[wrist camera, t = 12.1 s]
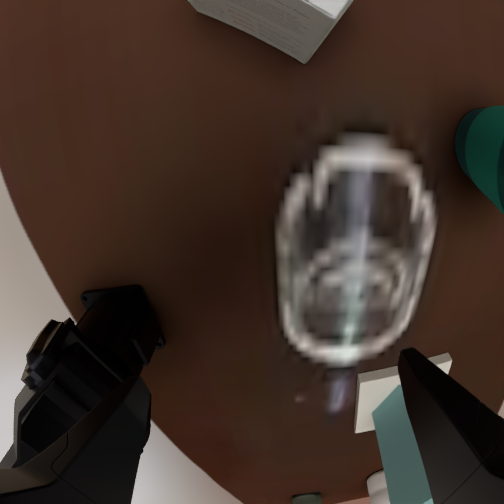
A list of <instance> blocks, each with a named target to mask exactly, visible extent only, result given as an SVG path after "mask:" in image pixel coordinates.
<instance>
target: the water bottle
mask: <svg viewBox="0 0 504 504" xmlns="http://www.w3.org/2000/svg"><path fill="white" fill-rule="evenodd" d="M367 487H368V492H369V495H370V504H390V501H389V495H388V489H387V484H386V479H385V473H384V469H383V470H380V471H378V472H376V473H374V474H372V475H371V476H370V477H369V478H368V480H367Z"/></svg>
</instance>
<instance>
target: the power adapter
mask: <svg viewBox="0 0 504 504" xmlns="http://www.w3.org/2000/svg"><path fill="white" fill-rule="evenodd" d="M292 504H322V502H321V495H320V493H319V492H316V493H309V494H302V495H295V496H293V497H292Z"/></svg>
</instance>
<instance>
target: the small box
mask: <svg viewBox="0 0 504 504" xmlns="http://www.w3.org/2000/svg"><path fill="white" fill-rule="evenodd" d="M188 2H189V3H190V4H191V5H192V6H193V7H194V8H195V9H196V11H197V12H199V13H202V14H205V15H207V16H210V17H212V18H215V19H217V20H219V21H222V22H224V23H226V24H229V25H231V26H233V27H235V28H237V29H239V30H242V31H244V32H246V33H248V34H250V35H252V36H254V37H256V38H258V39H260V40H262V41H264V42H266V43H268V44H270V45H272V46H273V47H275V48H277V49H279V50H281V51H283V52H284V53H286V54H288V55H290V56H291V57H293V58H295V59H297V60H298V61H300V62H301V63H303V64H306V63H307V62H308V61H309V59H310V58H311V57H312V55H313V54H314V53H315V51H316V50H317V49H318V47H319V46H320V45H321V43H322V42H323V41H324V39H325V38H326V37H327V35H328V34H329V33H330V31H331V30H332V29H333V27H334V26H335V25H336V23H337V22H338V21H339V19H340V18H341V17H342V15H343V14H344V13H345V11H346V10H347V9H348V7H349V6H350V5H351V3H352V2H353V0H188Z"/></svg>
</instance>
